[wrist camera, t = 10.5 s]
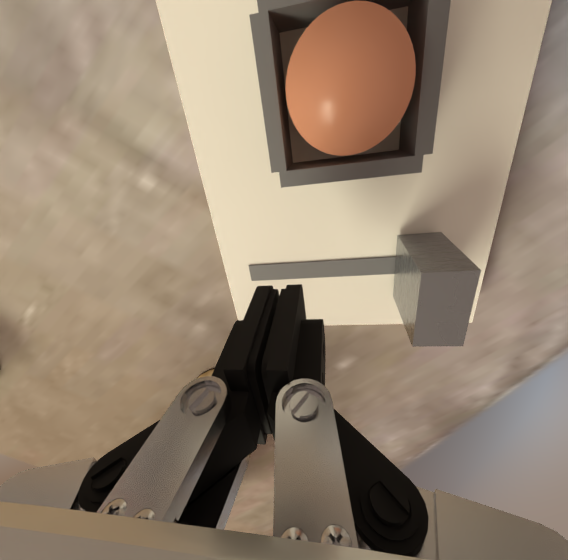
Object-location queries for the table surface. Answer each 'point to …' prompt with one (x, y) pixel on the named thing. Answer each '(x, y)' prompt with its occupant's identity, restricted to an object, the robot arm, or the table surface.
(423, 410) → the table surface
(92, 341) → the table surface
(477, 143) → the control panel
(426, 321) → the block
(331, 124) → the terracotta button
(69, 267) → the table surface
